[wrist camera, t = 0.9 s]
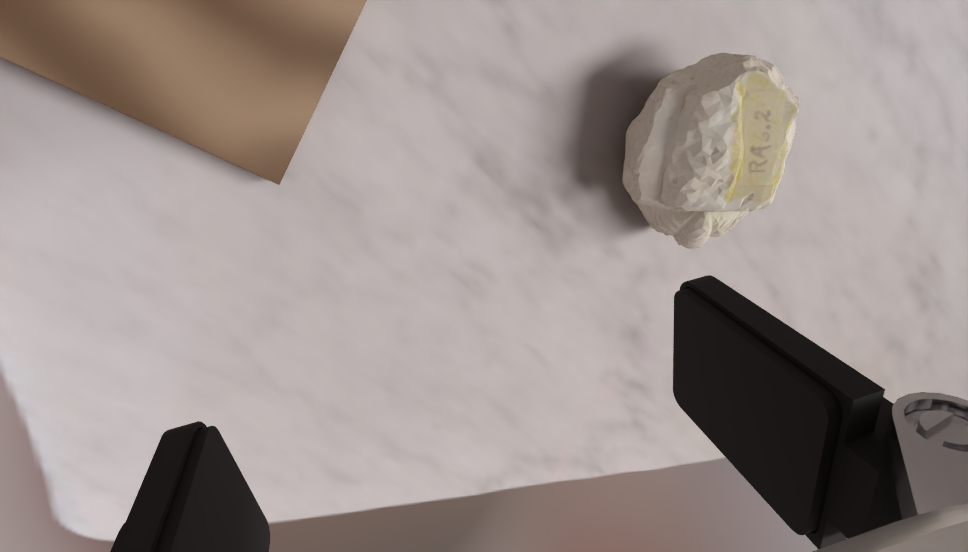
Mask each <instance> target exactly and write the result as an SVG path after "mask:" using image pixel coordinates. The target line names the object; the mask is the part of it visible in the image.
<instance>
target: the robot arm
mask: <svg viewBox="0 0 968 552" xmlns="http://www.w3.org/2000/svg"><path fill="white" fill-rule="evenodd" d="M884 391H885V389H883V388H882V387H880V386H879V385H877V384H876V383H874V382H873V381H871V380H870V379H868V378H867V377H865V376H864V375H862V374H861V373H859V372H858V371H856V370H855V369H853V368H852V367H850V366H849V365H847V364H845V363H844V362H842V361H841V360H839V359H838V358H836V357H835V356H833V355H832V354H830V353H829V352H827V351H826V350H824V349H823V348H821V347H820V346H818V345H817V344H815V343H814V342H812V341H811V340H809V339H808V338H806V337H805V336H803V335H801V334H800V333H798V332H797V331H795V330H794V329H792V328H791V327H789V326H788V325H786V324H785V323H783V322H782V321H780V320H779V319H777V318H776V317H774V316H773V315H771V314H770V313H768V312H767V311H765V310H764V309H762V308H761V307H759V306H757V305H756V304H754V303H753V302H751V301H750V300H748V299H747V298H745V297H744V296H742V295H741V294H739V293H738V292H736V291H735V290H733V289H732V288H730V287H729V286H727V285H726V284H724V283H723V282H721V281H720V280H718V279H717V278H715V277H713V276H704V277H701V278H697V279H694V280H690V281H687V282H684V283H683V284H682V285H681V287H680V291H677V292H676V293H675V296H674V355H673V393H674V396H675V399H676V401H677V403H678V405H679V406H680V407H681V408H682V409H683V411H684V412H685V413H686V414H687V415H688V416H689V417H690V418H691V419H692V420H693V422H694V423H695V424H696V425H697V426H698V427H699V428H700V429H701V430H702V431H703V433H704V434H705V435H706V436H707V437H708V438H709V439H710V440H711V441H712V442H713V443H714V445H715V446H716V447H717V448H718V449H719V450H720V451H721V452H722V453H723V454H724V456H725V457H726V458H727V459H728V460H729V461H730V462H731V463H732V464H733V465H734V467H735V468H736V469H737V470H738V471H739V472H740V473H741V474H742V475H743V476H744V478H745V479H746V480H747V481H748V482H749V483H750V484H751V485H752V486H753V487H754V489H755V490H756V491H757V492H758V493H759V494H760V495H761V496H762V497H763V498H764V500H765V501H766V502H767V503H768V504H769V505H770V506H771V507H772V508H773V509H774V511H775V512H776V513H777V514H778V515H779V516H780V517H781V518H782V519H783V520H784V521H785V522H786V524H787V525H788V526H789V527H790V528H791V529H792V530H793V531H794V532H796V533H797V534H799V535H804V534H805V535H806V536H807V537H808V538H809V539H810V540H811V542H812V543H813V544H814V545H815V546H816V547H817V548H818V549H819V550H816V551H813V552H968V401H967V400H964V399H961V398H958V397H954V396H950V395H945V394H940V393H926V392H920V393H913V394H908V395H905V396H903V397H901V398H899V399H898V400H897V401H896V402H895V403H894V404H893V403H891V402H890V401H888V400H887V399H885V398H884V397H883V395H884ZM269 544H270V531H269V526H268V522H267V520H266V518H265V516H264V514H263V512H262V510H261V509H260V507H259V505H258V503H257V501H256V499H255V497H254V495H253V494H252V492H251V490H250V488H249V486H248V484H247V482H246V481H245V479H244V477H243V475H242V473H241V471H240V469H239V468H238V466H237V464H236V462H235V460H234V458H233V456H232V455H231V453H230V451H229V449H228V447H227V445H226V443H225V442H224V440H223V438H222V436H221V434H220V432H219V431H218V429H217V428H216V427H215V426H210V427H206V425H205V424H204V423H202V422H199V421H198V422H195V423H191V424H188V425H184V426H181V427H177V428H174V429H170V430H167V431H166V432H164V434H163V435H162V437H161V440H160V442H159V444H158V447H157V449H156V452H155V454H154V456H153V459H152V461H151V463H150V466H149V468H148V471H147V473H146V475H145V478H144V480H143V482H142V485H141V487H140V490H139V492H138V494H137V497H136V499H135V501H134V504H133V506H132V509H131V511H130V513H129V516H128V518H127V520H126V523H124V524H123V526H122V528H121V529H120V531H119V533H118V535H117V537H116V540H115V542H114V545H113V547H112V549H111V552H269Z"/></svg>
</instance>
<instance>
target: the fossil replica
mask: <svg viewBox="0 0 968 552" xmlns="http://www.w3.org/2000/svg"><path fill="white" fill-rule="evenodd" d="M799 105H800V100H799V98H798V97H796V96H795V95H794V93H793V91H792V90H791V89H789V88H788V87H787V86H786V85H785V83H784V79H783V77H782V75H781V74H780V72H779V71H778V69H777V68H776V67H775V65H773V64H772V63H770V62H767V61H764V60H760V59H757V58H756V57H755V56H751V55H738V54H729V53H719V54H715V55H710V56H708V57H706V58H704V59H702V60H700V61H699V62H698V63H696V64H694V65H691V66H687V67H686V68H684V69H680V70H677V71H675V72H673V73H671V74H669V75H668V76H667V77H665V78H663V79H661V80H660V82H659V83H658V85H657V87H656V88H655V90H654V91H653V92H652V94H651V95H650V96H649V98H648V100H647V101H646V104H645V106H644V108H643V109H642V111H641V113H640V114H639V116H638V117H636V118H635V119H634V120H633V121H632V122H631V124H630V126H629V127H628V129H627V132H626V148H625V160H624V168H623V178H622V182H623V185H624V187H625V189H626V191H627V192H628V193H629V194H630V196H631V198H632V200H633V201H634V202H635V203H636V204H637V205H638V206H639V209H640V210H641V211H642V213H643V216H644V217H645V218H646V220H647V222H648V223H649V224H650V225H651V226H652V227H653V229H655V230H656V231H658V232H662V233H664V234H665V235H672V236H673V237H674V238H675V240H676V241H677V243H678V244H679V245H683V246H684V247H686V248H699V247H701V246H702V245H703V244H704V243H705V242H706V240H707V239H708V237H709V236H712V237H718V236H721V235H723V234H725V233H726V232H728V231H730V230H731V229H732V228H733V227H734V226H735V225H736V224H737V223H738V222H739V221H740V219H742V218H743V217H744V216H745V215H746V214H747V213H748V212H752V211H756V210H760V209H763V208H767V207H769V206H770V205H771V203H772V201H773V199H774V195H775V192H776V190H777V187H778V185H779V183H780V180H781V176H782V174H783V172H784V171H785V162H786V157H787V154H788V153H789V151H790V150H791V146H792V141H793V138H794V134H795V131H796V122H795V118H796V116H797V114H798V109H799Z"/></svg>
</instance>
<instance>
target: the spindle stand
mask: <svg viewBox="0 0 968 552" xmlns="http://www.w3.org/2000/svg"><path fill="white" fill-rule="evenodd" d="M366 1H367V0H0V57H2V58H4V59H7V60H9V61H11V62H13V63H15V64H17V65H20V66H22V67H24V68H26V69H28V70H31V71H33V72H35V73H37V74H39V75H41V76H44V77H46V78H48V79H50V80H52V81H54V82H57V83H59V84H61V85H63V86H65V87H68V88H70V89H72V90H74V91H76V92H78V93H81V94H83V95H85V96H87V97H89V98H91V99H94V100H96V101H98V102H100V103H102V104H104V105H107V106H109V107H111V108H113V109H115V110H118V111H120V112H122V113H124V114H126V115H128V116H131V117H133V118H135V119H137V120H139V121H141V122H144V123H146V124H148V125H150V126H152V127H154V128H157V129H159V130H161V131H163V132H165V133H168V134H170V135H172V136H174V137H176V138H178V139H181V140H183V141H185V142H187V143H189V144H191V145H194V146H196V147H198V148H200V149H202V150H204V151H207V152H209V153H211V154H213V155H215V156H218V157H220V158H222V159H224V160H226V161H228V162H231V163H233V164H235V165H237V166H239V167H241V168H244V169H246V170H248V171H250V172H252V173H255V174H257V175H259V176H261V177H263V178H265V179H268V180H270V181H272V182H274V183H276V184H278V185H279V184H280V182H281V180H282V178H283V176H284V174H285V172H286V170H287V167H288V165H289V163H290V161H291V159H292V157H293V155H294V153H295V151H296V148H297V146H298V144H299V142H300V140H301V138H302V136H303V134H304V132H305V129H306V127H307V125H308V123H309V121H310V119H311V117H312V115H313V113H314V110H315V108H316V106H317V104H318V102H319V100H320V98H321V96H322V94H323V91H324V89H325V87H326V85H327V83H328V81H329V79H330V77H331V75H332V72H333V70H334V68H335V66H336V64H337V62H338V60H339V58H340V55H341V53H342V51H343V49H344V47H345V45H346V43H347V41H348V39H349V36H350V34H351V32H352V30H353V28H354V26H355V24H356V22H357V20H358V17H359V15H360V13H361V11H362V9H363V7H364V5H365V3H366Z"/></svg>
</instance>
